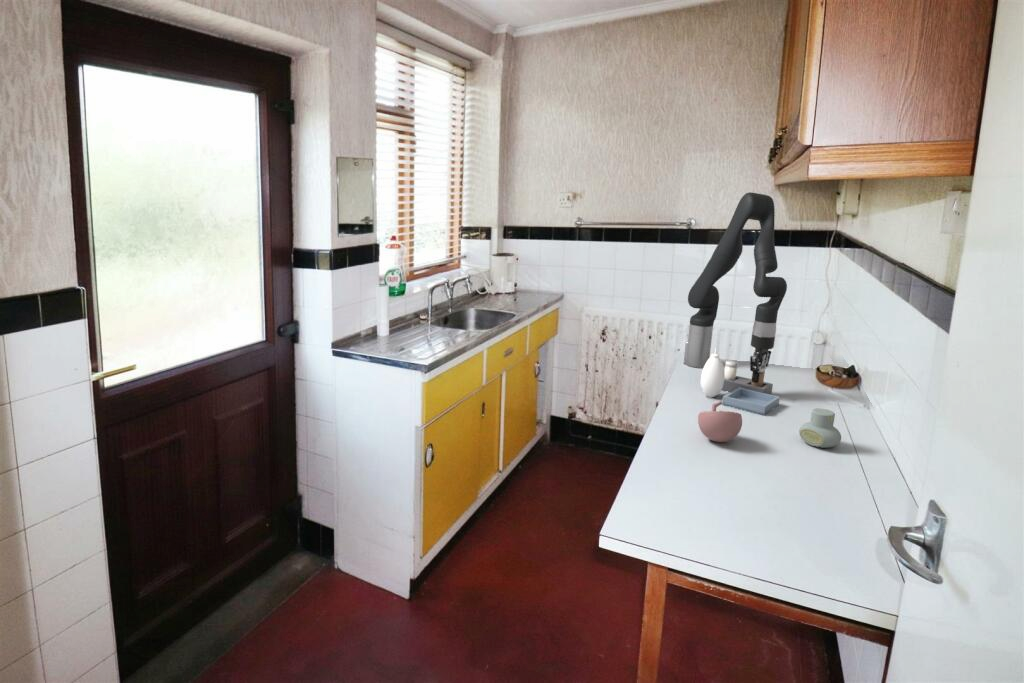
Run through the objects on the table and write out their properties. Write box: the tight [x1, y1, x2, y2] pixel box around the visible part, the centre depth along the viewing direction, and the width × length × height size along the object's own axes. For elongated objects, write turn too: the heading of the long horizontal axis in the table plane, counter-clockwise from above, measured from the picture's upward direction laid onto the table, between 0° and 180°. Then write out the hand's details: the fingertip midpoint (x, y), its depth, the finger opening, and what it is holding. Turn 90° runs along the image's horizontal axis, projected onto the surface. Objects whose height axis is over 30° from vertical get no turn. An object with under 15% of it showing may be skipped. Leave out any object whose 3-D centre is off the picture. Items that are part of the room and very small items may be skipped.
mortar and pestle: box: [697, 400, 743, 443], centre depth 177 cm, size 12×12×11 cm
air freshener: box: [798, 407, 842, 449], centre depth 177 cm, size 11×8×10 cm
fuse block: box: [721, 375, 774, 395], centre depth 224 cm, size 18×9×4 cm, turn 49°
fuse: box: [724, 360, 738, 381], centre depth 226 cm, size 4×4×10 cm
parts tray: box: [721, 387, 781, 416], centre depth 209 cm, size 14×14×3 cm
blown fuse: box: [751, 367, 766, 387], centre depth 220 cm, size 4×4×10 cm
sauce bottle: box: [700, 346, 725, 398], centre depth 215 cm, size 8×8×18 cm
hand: (757, 380), depth 220 cm, fingers closed on blown fuse, 4 cm apart
